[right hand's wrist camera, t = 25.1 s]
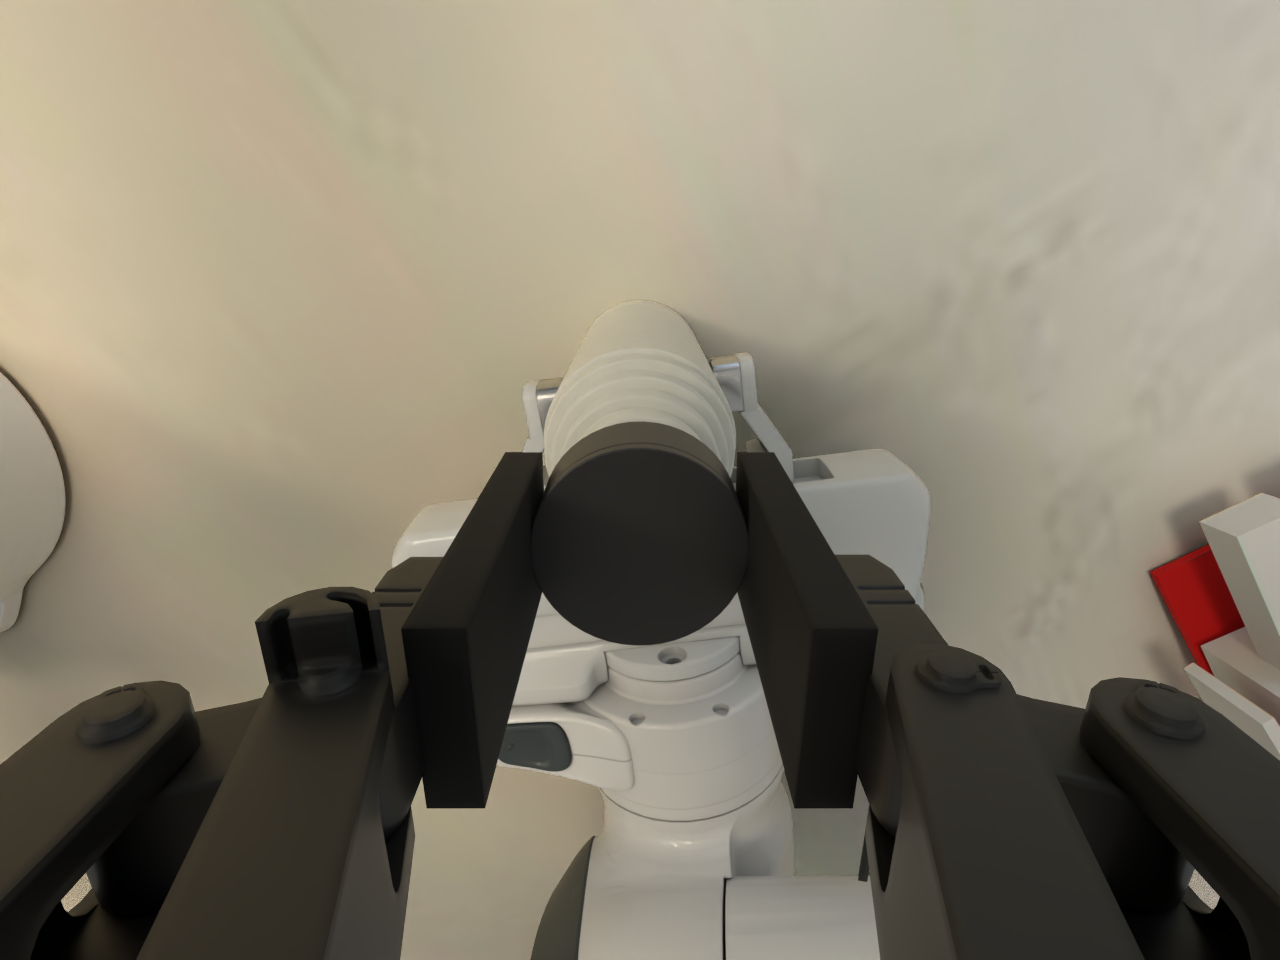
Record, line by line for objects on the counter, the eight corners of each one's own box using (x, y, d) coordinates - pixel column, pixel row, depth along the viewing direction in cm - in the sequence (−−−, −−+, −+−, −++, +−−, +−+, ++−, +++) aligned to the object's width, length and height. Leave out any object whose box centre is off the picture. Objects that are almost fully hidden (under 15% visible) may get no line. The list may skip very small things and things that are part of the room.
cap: (505, 476, 14) (487, 510, 12) (683, 385, 13) (690, 407, 12) (601, 627, 15) (596, 677, 14) (768, 551, 15) (784, 593, 13)
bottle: (556, 372, 31) (450, 558, 13) (628, 274, 29) (611, 341, 12) (650, 441, 32) (663, 693, 15) (724, 350, 30) (834, 511, 13)
